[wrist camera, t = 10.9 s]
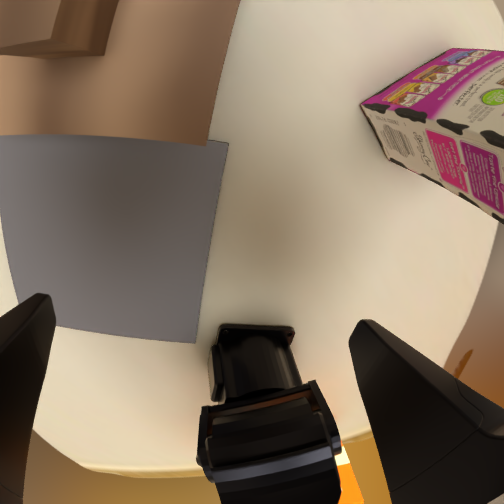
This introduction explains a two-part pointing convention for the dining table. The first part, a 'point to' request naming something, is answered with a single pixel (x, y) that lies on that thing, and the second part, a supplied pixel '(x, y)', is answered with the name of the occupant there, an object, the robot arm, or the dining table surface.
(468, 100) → the candy bar box
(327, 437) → the robot arm
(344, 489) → the orange juice
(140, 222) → the mat
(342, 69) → the dining table surface
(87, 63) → the walnut lid
